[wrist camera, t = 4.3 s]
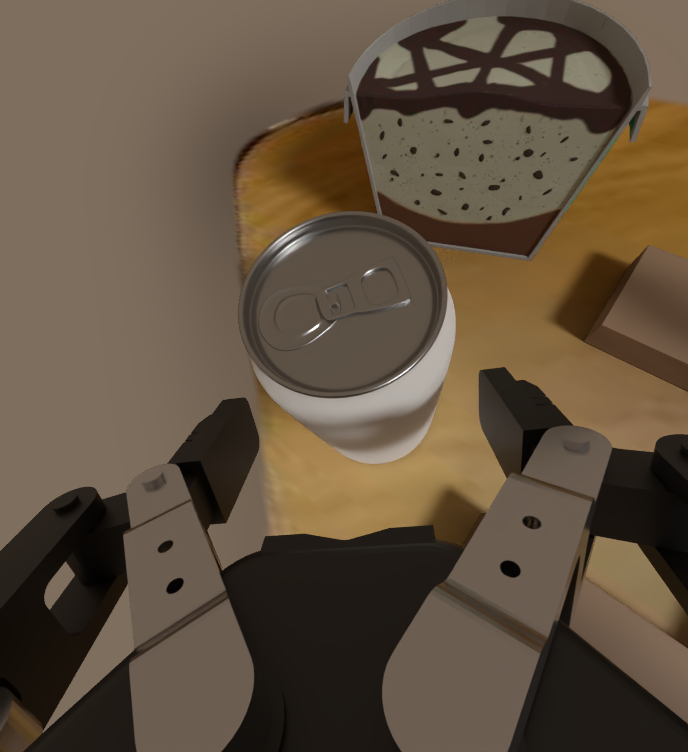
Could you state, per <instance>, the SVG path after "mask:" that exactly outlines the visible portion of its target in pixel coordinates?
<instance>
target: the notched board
mask: <svg viewBox="0 0 688 752" xmlns="http://www.w3.org/2000/svg"><path fill="white" fill-rule="evenodd" d="M584 342H586V343H588V344H590V345H592V346H594V347H596V348H598V349H600V350H603V351H605V352H607V353H609V354H611V355H613V356H615V357H617V358H619V359H621V360H624V361H626V362H628V363H630V364H632V365H634V366H636V367H638V368H640V369H642V370H644V371H647V372H649V373H651V374H653V375H655V376H657V377H659V378H661V379H663V380H665V381H667V382H670V383H672V384H674V385H676V386H678V387H680V388H682V389H684V390H686V391H688V259H685V258H683V257H680V256H677V255H674V254H672V253H669V252H666V251H664V250H661V249H658V248H656V247H653V246H650V245H648V247H647V248H646V249H645V250H644V251H643V252H642V253H641V254H640V255H639V256H638V257H637V258H636V259H635V260H634V261H633V262H632V264H631V265H630V266H629V267H628V268H627V269H626V271H625V273H624V274H623V276H622V278H621V280H620V281H619V283H618V285H617V286H616V288H615V290H614V291H613V293H612V295H611V296H610V298H609V300H608V301H607V303H606V305H605V306H604V308H603V310H602V311H601V313H600V315H599V317H598V318H597V320H596V322H595V323H594V325H593V327H592V328H591V330H590V332H589V333H588V335H587V337H586V338H585V340H584ZM485 515H486V513H481V515H480V517H479V518H478V520H477V522H476V524H475V525H474V527H473V529H472V530H471V532H470V534H469V535H468V537H467V539H466V540H465V542H464V544H463V545H462V547H465V548H466V546H467V545H468V543H469V541H470V540H471V538H472V536H473V535H474V533H475V531H476V530H477V528H478V526H479V525H480V523H481V521H482V520H483V518H484V516H485ZM572 630H573V631H574V632H576V633H577V634H578V635H579V636H581V637H582V638H583V639H584V640H586V641H587V642H588V643H589V644H590V645H592V646H593V647H594V648H595V649H597V650H598V651H599V652H600V653H602V654H603V655H604V656H605V657H606V658H608V659H609V660H610V661H611V662H613V663H614V664H615V665H616V666H618V667H619V668H620V669H621V670H623V671H624V672H625V673H626V674H627V675H629V676H630V677H631V678H632V679H634V680H635V681H636V682H637V683H639V684H640V685H641V686H642V687H643V688H645V689H646V690H647V691H648V692H650V693H651V694H652V695H653V696H655V697H656V698H657V699H658V700H659V701H661V702H662V703H663V704H664V705H666V706H667V707H668V708H669V709H671V710H672V711H673V712H674V713H675V714H677V715H678V716H679V717H680V718H682V719H683V720H684V721H685V722H687V723H688V648H686V647H685V646H683V645H682V644H680V643H679V642H677V641H676V640H674V639H673V638H672V637H670V636H669V635H667V634H666V633H664V632H663V631H661V630H660V629H658V628H657V627H655V626H654V625H652V624H651V623H650V622H648V621H647V620H645V619H644V618H642V617H641V616H639V615H638V614H636V613H635V612H633V611H632V610H631V609H629V608H628V607H626V606H625V605H623V604H622V603H620V602H619V601H617V600H616V599H614V598H613V597H611V596H610V595H609V594H607V593H606V592H604V591H603V590H601V589H600V588H598V587H597V586H595V585H594V584H592V583H591V582H590V581H588V580H587V579H585V578H584V581H583V585H582V588H581V592H580V596H579V600H578V604H577V608H576V613H575V618H574V622H573V626H572Z"/></svg>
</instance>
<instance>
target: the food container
mask: <svg viewBox="0 0 688 752" xmlns="http://www.w3.org/2000/svg"><path fill="white" fill-rule="evenodd" d="M651 87H652V84H651V69H650V66H649V62H648V59H647V56H646V53H645V51H644V50H643V48H642V46H641V45H640V43H639V41H638V40H637V38H636V37H635V36H634V35H633V34H632V33H631V32H630V31H629V30H628V29H627V28H626V26H624V25H623V24H622V23H620V22H619V21H618V20H616V19H615V18H614V17H612V16H611V15H609V14H607V13H606V12H604V11H602V10H600V9H598V8H596V7H594V6H592V5H589V4H587V3H584V2H581V1H578V0H449V1H446V2H443V3H440V4H437V5H434V6H432V7H429V8H426V9H424V10H422V11H420V12H418V13H415V14H413V15H411V16H409V17H407V18H406V19H404V20H402V21H401V22H399V23H397V24H396V25H394V26H392V27H391V28H390V29H388V30H387V31H386V32H384V33H383V34H382V35H381V36H379V37H378V38H377V39H376V40H375V41H374V42H373V43H372V44H371V45H370V46H369V47H368V48H367V49H366V50H365V51H364V52H363V54H362V55H361V56H360V57H359V59H358V60H357V61H356V63H355V64H354V66H353V68H352V70H351V71H350V74H349V75H348V86H347V89H346V90H345V93H344V123H347V122H348V120H349V118H350V116H351V114H352V112H353V111H354V114H355V118H356V123H357V127H358V131H359V136H360V140H361V144H362V149H363V153H364V157H365V162H366V166H367V170H368V175H369V179H370V183H371V188H372V192H373V196H374V201H375V205H376V209H377V214H381V215H384V216H387V217H390V218H393V219H395V220H398V221H400V222H402V223H404V224H405V225H407V226H409V227H410V228H412V229H413V230H415V231H416V232H417V233H418V234H419V235H421V236H422V237H423V238H424V239H425V240H426V241H427V242H428V244H429V245H430V246H432V247H439V248H446V249H453V250H459V251H466V252H473V253H480V254H487V255H493V256H500V257H507V258H514V259H521V260H527V261H531V260H532V259H533V257H534V256H535V254H536V253H537V252H538V250H539V249H540V247H541V246H542V244H543V243H544V242H545V240H546V239H547V237H548V236H549V235H550V233H551V232H552V230H553V229H554V228H555V226H556V225H557V223H558V222H559V220H560V219H561V218H562V216H563V215H564V213H565V212H566V211H567V209H568V208H569V206H570V205H571V204H572V202H573V201H574V199H575V198H576V197H577V195H578V194H579V192H580V191H581V189H582V188H583V187H584V185H585V184H586V182H587V181H588V180H589V178H590V177H591V175H592V174H593V173H594V171H595V170H596V168H597V167H598V165H599V164H600V163H601V161H602V160H603V158H604V157H605V156H606V154H607V153H608V151H609V150H610V149H611V147H612V146H613V144H614V143H615V141H616V140H617V139H618V137H619V136H620V134H621V133H622V132H623V130H624V129H625V127H626V126H627V125H628V123H629V126H630V142H635V141H636V138H637V135H638V133H639V130H640V127H641V125H642V122H643V120H644V117H645V114H646V112H647V109H648V106H649V102H648V92H649V91H650V89H651Z"/></svg>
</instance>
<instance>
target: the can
mask: <svg viewBox="0 0 688 752" xmlns="http://www.w3.org/2000/svg"><path fill="white" fill-rule="evenodd" d="M238 320H239V321H238V322H239V329H240V333H241V337H242V340H243V343H244V345H245V347H246V349H247V351H248V353H249V357H250V361H251V365H252V367H253V370H254V372H255V374H256V377H257V378H258V380H259V382H260V383H261V385H262V386H263V388H264V389H265V391H266V392H267V393H268V394H269V396H270V397H271V398H272V399H273V400H274V401H275V402H276V403H277V404H278V405H279V406H280V407H282V408H283V409H284V410H285V411H286V412H287V413H289V414H290V415H291V416H292V417H294V418H295V419H296V420H297V421H299V422H300V423H301V424H303V425H304V426H305V427H306V428H308V429H309V430H310V431H312V432H313V433H314V434H316V435H317V436H318V437H319V438H321V439H322V440H323V441H325V442H326V443H327V444H329V445H330V446H331V447H333V448H334V449H336V450H337V451H338V452H340V453H341V454H343V455H345V456H346V457H348V458H350V459H353V460H355V461H358V462H362V463H369V464H381V463H387V462H391V461H394V460H397V459H399V458H401V457H403V456H405V455H407V454H408V453H410V452H411V451H412V450H413V449H414V448H415V447H416V446H417V445H418V444H419V443H420V442H421V441H422V439H423V438H424V436H425V435H426V433H427V431H428V429H429V427H430V424H431V421H432V418H433V415H434V412H435V409H436V406H437V403H438V400H439V396H440V393H441V390H442V387H443V383H444V380H445V377H446V373H447V370H448V366H449V363H450V359H451V355H452V351H453V346H454V341H455V329H456V319H455V310H454V305H453V301H452V298H451V295H450V292H449V290H448V288H447V282H446V277H445V273H444V270H443V267H442V265H441V263H440V260H439V258H438V257H437V255H436V253H435V252H434V250H433V249H432V247H431V246H430V245H429V244H428V242H427V241H426V240H425V239H424V238H423V237H422V236H421V235H419V234H418V233H417V232H416V231H415V230H413V229H412V228H410V227H409V226H407V225H405V224H404V223H402V222H400V221H398V220H395V219H393V218H390V217H387V216H384V215H381V214H376V213H371V212H363V211H343V212H335V213H329V214H325V215H321V216H318V217H315V218H312V219H309V220H307V221H304V222H302V223H300V224H298V225H296V226H294V227H292V228H291V229H289V230H287V231H286V232H284V233H283V234H282V235H280V236H279V237H278V238H276V239H275V240H274V241H273V242H272V243H271V244H270V245H269V246H268V247H267V248H266V249H265V250H264V251H263V252H262V253H261V254H260V256H259V257H258V258H257V259H256V261H255V262H254V264H253V265H252V267H251V269H250V271H249V272H248V274H247V277H246V279H245V281H244V284H243V287H242V290H241V294H240V299H239V306H238Z"/></svg>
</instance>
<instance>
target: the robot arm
mask: <svg viewBox="0 0 688 752" xmlns="http://www.w3.org/2000/svg"><path fill="white" fill-rule="evenodd" d="M479 418H480V423H481V427H482V430H483V432H484V434H485V436H486V438H487V440H488V442H489V444H490V446H491V448H492V450H493V452H494V454H495V456H496V458H497V460H498V462H499V464H500V466H501V468H502V470H503V472H504V474H505V476H506V478H507V480H506V481H505V483H504V485H503V486H502V488H501V490H500V491H499V493H498V495H497V496H496V498H495V500H494V501H493V503H492V505H491V506H490V508H489V510H488V511H487V513H486V515H485V516H484V518H483V520H482V521H481V523H480V525H479V526H478V528H477V530H476V531H475V533H474V535H473V536H472V538H471V540H470V541H469V543H468V545H467V546H466V548H465V547H462V546H459V545H457V544H454V543H450V542H447V541H443V540H437V539H435V534H434V529H433V525H428V526H413V527H399V528H388V529H385V530H381V531H378V532H374V533H371V534H367V535H364V536H360V537H357V538H354V539H350V540H338V539H332V538H327V537H321V536H315V535H309V534H294V535H279V536H265V538H264V541H263V545H262V548H261V551H258V552H255V553H253V554H250V555H248V556H245V557H244V558H242V559H240V560H238V561H236V562H235V563H233V564H231V565H230V566H228V567H227V568H225V569H224V570H223V568H222V565H221V563H220V560H219V558H218V556H217V553H216V551H215V548H214V546H213V543H212V541H211V538H210V536H209V534H208V531H207V530H208V528H209V526H210V524H221V523H226V522H227V520H228V518H229V516H230V513H231V511H232V509H233V507H234V504H235V502H236V500H237V498H238V496H239V493H240V491H241V488H242V486H243V484H244V482H245V480H246V478H247V475H248V473H249V471H250V468H251V466H252V464H253V462H254V460H255V457H256V455H257V453H258V450H259V435H258V432H257V428H256V425H255V422H254V419H253V416H252V412H251V409H250V406H249V403H248V401H247V400H246V398H236V399H227V400H223V401H222V402H221V403H220V404H219V406H218V407H217V408H216V410H215V411H214V412H213V414H212V415H209V416H208V417H207V418H205V419H204V420H203V421H201V422H200V423H199V424H198V425H197V426H196V427H195V429H194V430H193V431H192V433H191V435H189V436H188V438H187V439H186V442H184V443H183V444H182V445H181V447H180V448H179V449H178V451H177V452H176V453H175V454H174V456H173V457H172V458H171V460H170V461H169V462H168V463H167V464H163V465H159V466H155V467H153V468H150V469H148V470H146V471H144V472H143V473H141V474H140V475H138V476H137V477H136V478H135V479H134V480H133V481H132V482H131V483H130V484H129V486H128V488H127V490H126V493H122V494H119V495H116V496H112V497H109V498H106V499H101V497H100V496H99V494H98V492H97V491H96V489H95V488H93V487H82V488H78V489H75V490H72V491H70V492H67V493H65V494H63V495H61V496H60V497H58V498H56V499H54V500H53V501H52V502H50V503H49V504H48V505H46V506H45V507H44V508H43V509H42V510H41V511H40V512H39V513H38V514H37V515H36V516H35V517H34V518H33V519H32V520H31V521H30V522H29V523H28V524H27V525H26V526H25V527H24V528H23V529H22V530H21V531H20V532H19V533H18V534H17V535H16V536H15V537H14V538H13V539H12V540H11V541H10V542H9V543H8V544H7V545H6V546H5V547H4V548H3V549H2V550H1V551H0V752H688V723H687V722H685V721H684V720H683V719H682V718H680V717H679V716H678V715H677V714H675V713H674V712H673V711H672V710H671V709H669V708H668V707H667V706H666V705H664V704H663V703H662V702H661V701H659V700H658V699H657V698H656V697H655V696H653V695H652V694H651V693H650V692H648V691H647V690H646V689H645V688H643V687H642V686H641V685H640V684H639V683H637V682H636V681H635V680H634V679H632V678H631V677H630V676H629V675H627V674H626V673H625V672H624V671H623V670H621V669H620V668H619V667H618V666H616V665H615V664H614V663H613V662H611V661H610V660H609V659H608V658H606V657H605V656H604V655H603V654H602V653H600V652H599V651H598V650H597V649H595V648H594V647H593V646H592V645H590V644H589V643H588V642H587V641H586V640H584V639H583V638H582V637H581V636H579V635H578V634H577V633H576V632H574V631H573V630H572V626H573V622H574V618H575V613H576V608H577V604H578V600H579V596H580V592H581V588H582V585H583V581H584V578H585V574H586V571H587V567H588V564H589V560H590V557H591V553H592V550H593V546H594V543H595V539H596V536H600V537H605V538H611V539H616V540H622V541H627V542H632V543H637V544H638V546H639V547H640V548H641V550H642V551H643V553H644V554H645V556H646V557H647V558H648V560H649V561H650V563H651V564H652V565H653V567H654V568H655V570H656V571H657V573H658V574H659V575H660V577H661V578H662V580H663V581H664V582H665V584H666V585H667V587H668V588H669V589H670V591H671V592H672V594H673V595H674V597H675V598H676V599H677V601H678V602H679V604H680V605H681V606H682V608H683V609H684V611H685V612H686V614H687V615H688V435H684V434H675V435H668V436H664V437H662V438H660V439H658V441H657V442H656V445H655V449H654V452H645V451H634V450H624V449H617V448H612V446H611V443H610V441H609V440H608V439H607V438H606V437H604V436H603V435H602V434H600V433H598V432H596V431H594V430H591V429H588V428H584V427H579V426H574V425H573V424H572V423H571V422H570V421H569V420H568V419H567V418H566V417H565V416H564V415H563V414H562V412H561V411H560V410H559V409H558V408H557V407H556V406H555V405H553V404H552V402H551V401H550V399H549V398H548V397H546V395H545V394H544V393H543V392H542V391H541V390H540V389H539V387H537V386H535V385H533V384H531V383H529V382H527V381H525V380H519V381H516V380H515V379H514V378H513V376H512V375H511V374H510V373H509V372H508V370H507V369H506V368H504V367H502V368H494V369H485V370H480V372H479ZM65 561H66V562H67V564H68V565H69V567H70V568H71V569H72V571H73V572H74V574H75V576H74V578H73V579H72V580H71V582H70V583H69V585H68V586H67V587H66V589H65V590H64V591H63V593H62V594H61V595H60V597H59V598H58V600H57V601H56V602H55V604H54V605H53V606H52V608H51V609H50V610H49V609H48V608H47V607H46V605H45V602H44V594H45V590H46V587H47V585H48V583H49V582H50V580H51V579H52V578H53V576H54V575H55V574H56V573H57V571H58V570H59V569H60V568H61V566H62V565H63V564H64V562H65ZM127 584H128V588H129V598H130V608H131V618H132V628H133V638H134V651H133V652H132V653H131V654H130V655H128V656H127V657H126V658H125V659H124V660H123V661H122V662H121V663H120V664H119V665H117V666H116V667H115V668H114V669H113V670H112V671H111V672H110V673H109V674H108V675H106V676H105V677H104V678H103V679H102V680H101V681H100V682H99V683H98V684H97V685H95V686H94V687H93V688H92V689H91V690H90V691H89V692H88V693H87V694H86V695H84V696H83V697H82V698H81V699H80V700H79V701H78V702H77V703H76V704H74V705H73V706H72V707H71V708H70V709H69V710H68V711H67V712H66V713H65V714H64V715H62V716H61V717H60V718H59V719H58V720H57V721H56V722H55V723H54V724H52V725H51V726H50V727H49V728H48V729H47V730H46V731H45V732H44V733H43V730H44V728H45V727H46V725H47V723H48V721H49V719H50V718H51V716H52V714H53V712H54V711H55V709H56V707H57V705H58V704H59V702H60V700H61V699H62V697H63V695H64V694H65V692H66V690H67V688H68V687H69V685H70V683H71V681H72V680H73V678H74V676H75V674H76V672H77V671H78V669H79V667H80V666H81V664H82V662H83V661H84V659H85V657H86V655H87V654H88V652H89V650H90V648H91V647H92V645H93V643H94V641H95V640H96V638H97V636H98V635H99V633H100V631H101V629H102V628H103V626H104V624H105V622H106V621H107V619H108V617H109V615H110V614H111V612H112V610H113V609H114V607H115V605H116V603H117V602H118V600H119V598H120V597H121V595H122V593H123V591H124V590H125V588H126V586H127Z"/></svg>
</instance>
